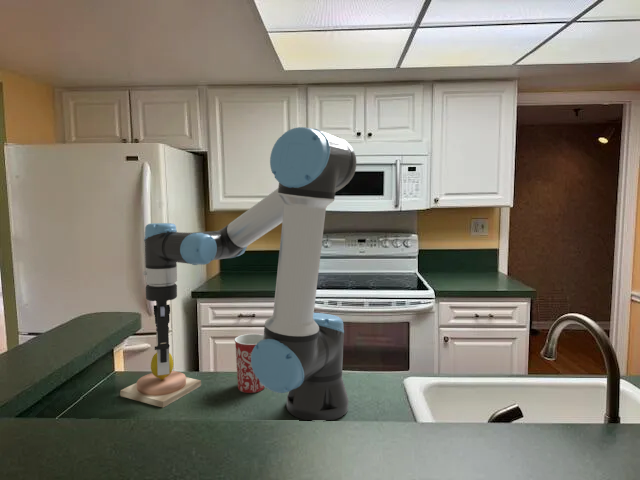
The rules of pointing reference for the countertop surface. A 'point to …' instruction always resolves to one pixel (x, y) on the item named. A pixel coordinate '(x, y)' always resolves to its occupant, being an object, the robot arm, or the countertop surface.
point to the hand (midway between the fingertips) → (162, 364)
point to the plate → (160, 389)
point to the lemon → (155, 368)
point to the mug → (247, 363)
